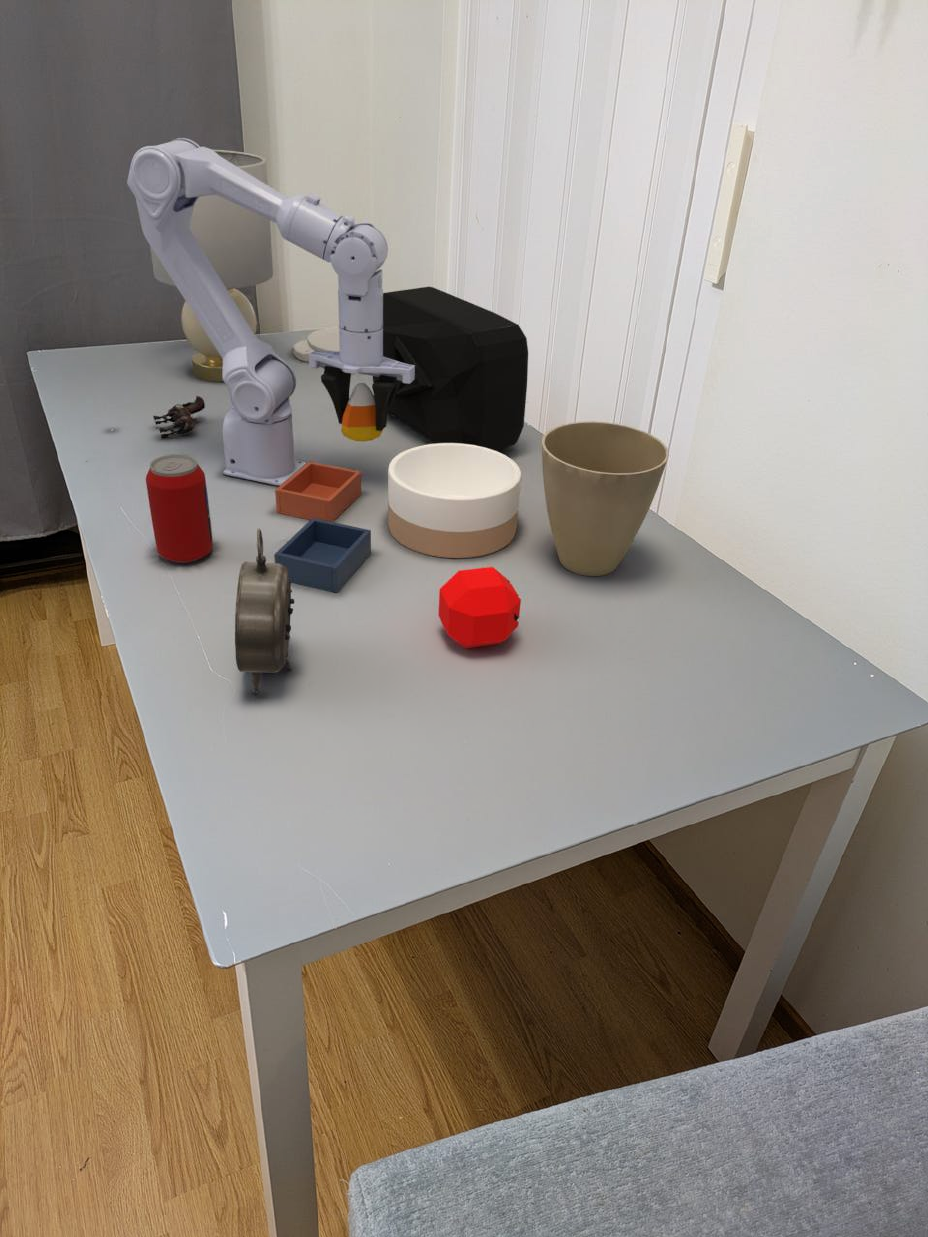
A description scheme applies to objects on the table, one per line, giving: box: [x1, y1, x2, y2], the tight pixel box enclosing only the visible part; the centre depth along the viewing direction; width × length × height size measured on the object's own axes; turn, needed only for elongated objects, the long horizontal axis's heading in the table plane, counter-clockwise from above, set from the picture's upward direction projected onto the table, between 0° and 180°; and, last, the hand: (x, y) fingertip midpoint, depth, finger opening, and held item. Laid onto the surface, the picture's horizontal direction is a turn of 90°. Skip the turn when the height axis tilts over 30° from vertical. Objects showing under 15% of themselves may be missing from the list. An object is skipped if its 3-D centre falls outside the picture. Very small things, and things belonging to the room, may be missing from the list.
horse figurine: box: [111, 395, 206, 439], centre depth 143 cm, size 9×4×15 cm
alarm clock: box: [234, 527, 296, 696], centre depth 90 cm, size 11×5×16 cm, turn 5°
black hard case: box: [371, 286, 529, 452], centre depth 144 cm, size 30×12×20 cm, turn 37°
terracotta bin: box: [274, 461, 362, 522], centre depth 125 cm, size 8×10×3 cm
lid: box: [292, 325, 340, 363], centre depth 178 cm, size 17×20×3 cm
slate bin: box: [274, 518, 372, 593], centre depth 111 cm, size 8×10×3 cm
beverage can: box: [145, 453, 214, 564], centre depth 110 cm, size 7×7×12 cm
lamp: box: [149, 149, 274, 383], centre depth 157 cm, size 20×20×35 cm
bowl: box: [387, 443, 522, 559], centre depth 120 cm, size 17×17×8 cm
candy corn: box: [340, 382, 384, 442], centre depth 126 cm, size 6×3×8 cm, turn 106°
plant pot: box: [541, 420, 670, 577], centre depth 112 cm, size 15×15×16 cm
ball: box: [438, 566, 522, 649], centre depth 99 cm, size 8×8×8 cm
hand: (362, 424), depth 127 cm, fingers closed on candy corn, 5 cm apart
